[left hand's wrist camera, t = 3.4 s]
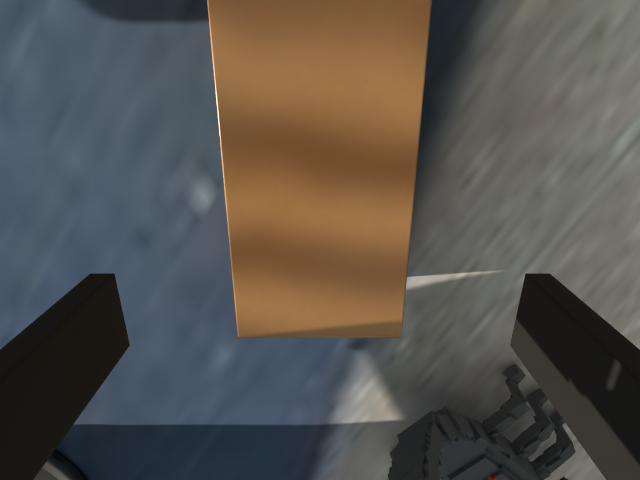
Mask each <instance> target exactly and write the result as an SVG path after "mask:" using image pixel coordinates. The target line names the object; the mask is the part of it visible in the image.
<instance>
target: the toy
mask: <svg viewBox="0 0 640 480" xmlns="http://www.w3.org/2000/svg"><path fill="white" fill-rule="evenodd" d="M504 374H505V375H506V376H507V378H508V379H507V380H506V384H507V386H508V388H509V389H510V391H511V393H512V395H511V399H509V400H508V401H507V402H506V403H504V404H503V405H502V406H501V408H500V410H499V411H497V412H496V413H494V414H493V415H491V416H490V417H489V418H487V419H486V420H484V421H483V424H481V423H479V422H477V421H475V420H472V419H470V418H467V417H463V416H461V415H459V414H457V413H455V412H453V411H451V410H449V409H448V408H446V407H444V408H443V409H441V410H440V411H437V412H436V413H434V412H432V411H431V412H429V413H428V414H427V415H425V416H424V417H422V418H421V419H420V420H418V421H417V422H415V423H414V424H413V425H411V426H410V427H408V428H407V429H406V430H404V431H403V432H401V433H400V434H399V435H398V439H399V444H397V448H396V449H395V450H393V451H392V452H390V455H391V458H392V460H393V461H391V462H392V467H390V469H389V474H388V478H389V480H440V479H442V480H544V479H546V478H547V477H549V476H550V474H551V473H552V472H553V471H554V470H555V469H557V468H558V467H559V466H560V465H561V464H563V463H564V462H565V461H566V460H568V459H569V458H570V457H571V456H572V455H573V454H574V453H575V452H576V451H575V449H574V446H573V443H572V441H571V439H570V438H569V436H568V435H567V433H566V431H565V430H564V428H563V426H562V425H563V424H564V423H565V421H564V420H563V418H562V417H561V416H560V414H559V413H558V411H556V412H555V413H553V414H552V415H551V416H550V417H548V415H547V414H546V412H545V411H544V409H543V408H542V405H543V404H544V403H545V402H546V401H547V399H548V397H547V396H546V395H545V393H544V392H543V390H542V389H539V390H538V391H536V392H535V393H533V394H532V395H530V396H529V397H527V398H525V397H524V396H523V394H522V393H521V391H520V390H519V387H518V384H519V383H520V382H521V380H522V379H523V378H524V377H525V374H524V373H523V371H522V370H521V369H520V368H519V367H518V366H517V365H516V364H515V365H513V366H512V367H511V368H509V369H508V370H506V371H505V372H504ZM526 399H527V400H526ZM526 401H528V402H529V404H530V406H531V407H532V409H533V410H534V412H535V413H536V416H534V419H535V421H536V423H534V424H533V425H532V426H530V427H529V428H528V429H527V430H526V431H524V432H523V433H521V435H520V436H519V437H517V438H516V439H515V441H514V442H513V444H512V443H511V442H510V441H509V440H507V439H506V438H505V437H504V436H502V435H501V434H500V432H502V431H503V430H504V429H506V428H507V427H508V426H510V425H511V424H512V423H514V422H515V421H516V420H517V419H519V418H520V417H521V416H522V415H523V414H524V413H526V412H527V411H528V410H529V408H528V406H527V405H526V403H525V402H526ZM553 430H554V431H555V433H556V435H557V437H556V443H555V444H553V445H552V446H550V447H549V448H548V449H546V450H545V451H544V452H543V453H544V454H542V455H540V456H539V457H537V458H536V459H535V460H534V461H533V462H530V461H529V459H528V458H527V457H528V456H530V455H531V454H533V453H534V452H535V451H536V450H537V448H538V447H539V445H540V444H541V443H542V442H543V441H545V440H546V439H548V438H549V437H550V435H551V433H552V431H553ZM560 480H568V479H566V478H565V477H563V478H561V479H560Z"/></svg>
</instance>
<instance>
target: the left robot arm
mask: <svg viewBox="0 0 640 480" xmlns="http://www.w3.org/2000/svg"><path fill="white" fill-rule="evenodd" d="M129 346H130V344H129V340H128V335H127V330H126V326H125V321H124V316H123V312H122V307H121V302H120V298H119V293H118V288H117V284H116V279H115V275H114V274H89V275H88V276H87V277H86V278H85V279H83V280H82V281H81V282H80V283H79V284H78V285H76V286H75V287H74V288H73V289H72V290H70V291H69V292H68V293H67V294H66V295H65V296H63V297H62V298H61V299H60V300H59V301H57V302H56V303H55V304H54V305H53V306H52V307H50V308H49V309H48V310H47V311H46V312H44V313H43V314H42V315H41V316H40V317H39V318H37V319H36V320H35V321H34V322H33V323H31V324H30V325H29V326H28V327H27V328H26V329H24V330H23V331H22V332H21V333H20V334H18V335H17V336H16V337H15V338H14V339H13V340H11V341H10V342H9V343H8V344H7V345H5V346H4V347H3V348H2V349H1V350H0V480H85V478H84V477H83V476H82V474H81V473H80V472H79V471H78V470H77V469H76V468H75V467H74V466H73V465H72V464H71V463H70V462H69V461H67V460H66V459H65V458H63V457H62V456H60V455H59V454H57V453H56V452H54V450H55V449H56V448H57V446H58V445H59V443H60V442H61V441H62V439H63V438H64V436H65V435H66V434H67V432H68V431H69V429H70V428H71V427H72V425H73V424H74V422H75V421H76V420H77V418H78V417H79V416H80V414H81V413H82V411H83V410H84V409H85V407H86V406H87V404H88V403H89V402H90V400H91V399H92V397H93V396H94V395H95V393H96V392H97V390H98V389H99V388H100V386H101V385H102V383H103V382H104V381H105V379H106V378H107V376H108V375H109V374H110V372H111V371H112V369H113V368H114V367H115V365H116V364H117V362H118V361H119V360H120V358H121V357H122V355H123V354H124V353H125V351H126V350H127V348H128V347H129ZM510 346H511V347H512V348H513V350H514V351H515V353H516V354H517V355H518V357H519V358H520V360H521V361H522V362H523V364H524V365H525V367H526V368H527V369H528V371H529V372H530V374H531V375H532V376H533V378H534V379H535V381H536V382H537V383H538V385H539V386H540V388H541V389H542V390H543V392H544V393H545V395H546V396H547V397H548V399H549V400H550V402H551V403H552V404H553V406H554V407H555V409H556V410H557V411H558V413H559V414H560V416H561V417H562V418H563V420H564V421H565V422H566V424H567V425H568V427H569V428H570V429H571V431H572V432H573V434H574V435H575V436H576V438H577V439H578V441H579V442H580V443H581V445H582V446H583V448H584V449H585V450H586V452H587V453H588V455H589V456H590V457H591V459H592V460H593V462H594V463H595V464H596V466H597V467H598V469H599V470H600V471H601V473H602V474H603V476H604V477H605V478H606V480H640V350H639V349H638V348H637V347H636V346H635V345H633V344H632V343H631V342H630V341H629V340H627V339H626V338H625V337H624V336H623V335H622V334H620V333H619V332H618V331H617V330H616V329H614V328H613V327H612V326H611V325H610V324H609V323H607V322H606V321H605V320H604V319H603V318H601V317H600V316H599V315H598V314H597V313H596V312H594V311H593V310H592V309H591V308H590V307H588V306H587V305H586V304H585V303H584V302H583V301H581V300H580V299H579V298H578V297H577V296H575V295H574V294H573V293H572V292H571V291H570V290H568V289H567V288H566V287H565V286H564V285H562V284H561V283H560V282H559V281H558V280H557V279H555V278H554V277H553V276H552V275H551V274H526V275H525V279H524V284H523V288H522V293H521V298H520V302H519V307H518V312H517V316H516V321H515V326H514V330H513V335H512V340H511V344H510Z"/></svg>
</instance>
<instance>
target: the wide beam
mask: <svg viewBox="0 0 640 480" xmlns="http://www.w3.org/2000/svg"><path fill="white" fill-rule="evenodd" d="M207 4H208V15H209V26H210V37H211V47H212V58H213V69H214V80H215V91H216V102H217V113H218V124H219V135H220V146H221V157H222V167H223V178H224V189H225V200H226V211H227V222H228V233H229V244H230V255H231V266H232V276H233V287H234V298H235V309H236V320H237V331H238V337H239V338H401V335H402V324H403V313H404V302H405V291H406V280H407V269H408V258H409V247H410V236H411V225H412V214H413V203H414V192H415V181H416V170H417V159H418V148H419V137H420V126H421V115H422V104H423V93H424V82H425V71H426V60H427V49H428V38H429V27H430V16H431V5H432V0H207Z"/></svg>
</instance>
